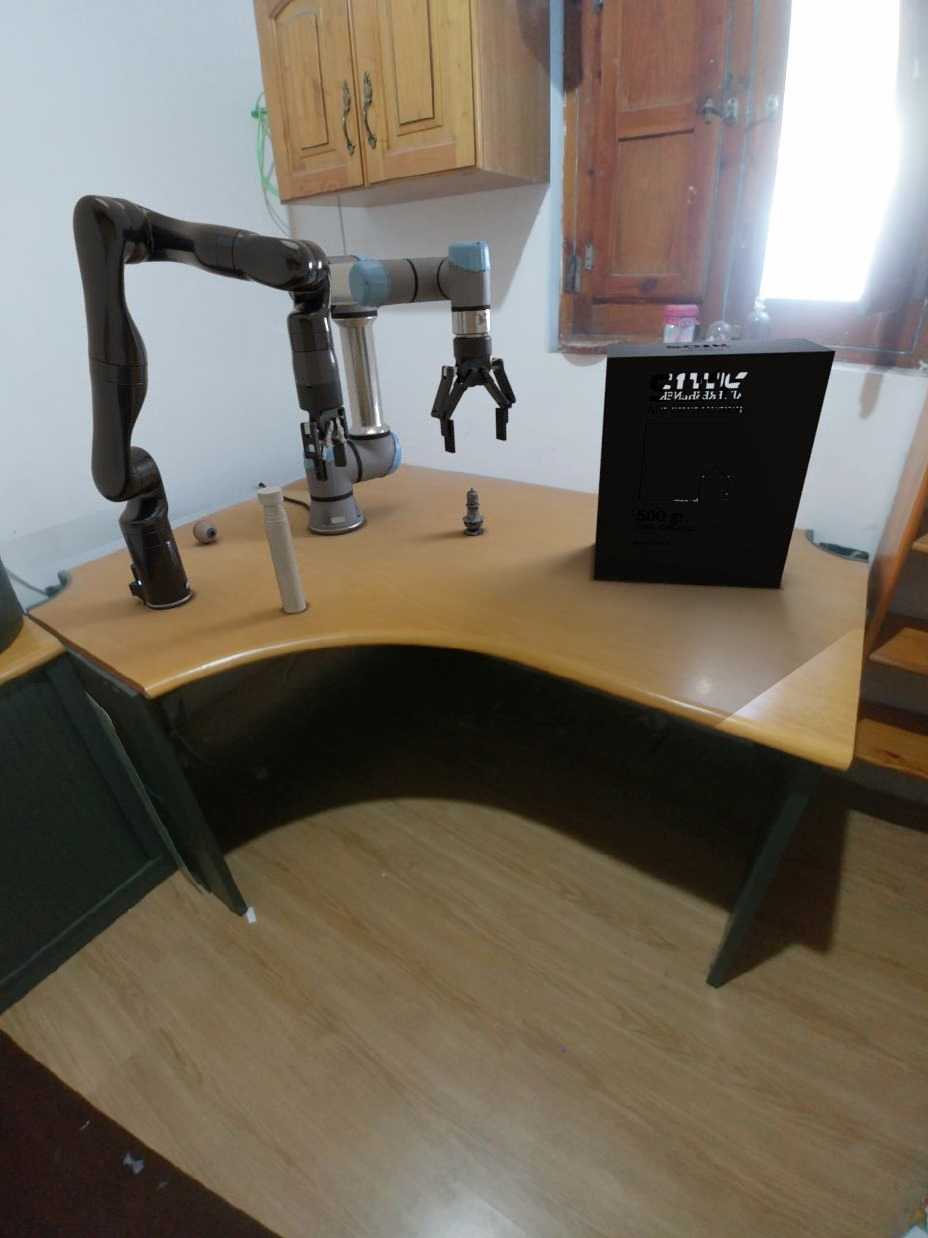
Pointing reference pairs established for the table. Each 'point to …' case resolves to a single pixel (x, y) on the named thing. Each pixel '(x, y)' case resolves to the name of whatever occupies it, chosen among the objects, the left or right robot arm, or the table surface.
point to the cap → (270, 495)
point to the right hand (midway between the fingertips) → (476, 445)
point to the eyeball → (205, 531)
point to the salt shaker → (473, 515)
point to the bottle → (284, 558)
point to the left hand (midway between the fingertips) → (332, 473)
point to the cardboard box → (706, 459)
